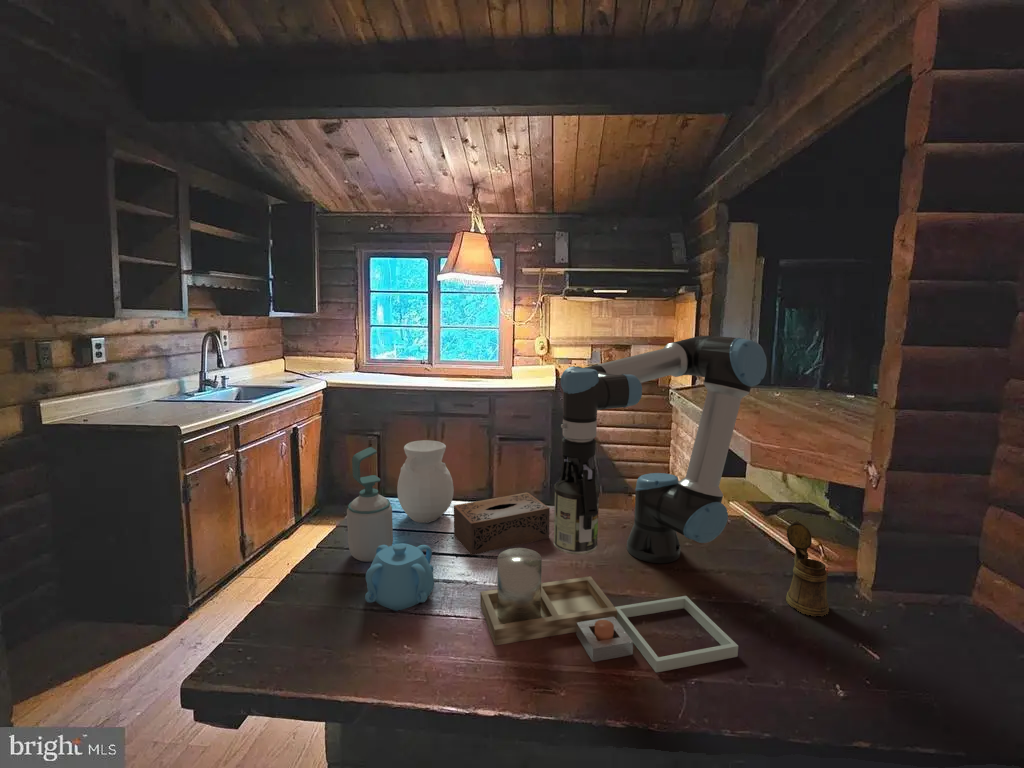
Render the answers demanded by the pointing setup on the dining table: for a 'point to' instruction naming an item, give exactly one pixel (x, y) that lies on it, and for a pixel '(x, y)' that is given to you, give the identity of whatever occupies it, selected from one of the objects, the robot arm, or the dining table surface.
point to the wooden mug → (806, 575)
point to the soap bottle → (368, 515)
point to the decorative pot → (400, 576)
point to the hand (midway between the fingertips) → (575, 530)
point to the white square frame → (681, 659)
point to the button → (604, 630)
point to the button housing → (604, 641)
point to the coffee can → (571, 520)
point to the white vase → (425, 481)
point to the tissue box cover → (500, 522)
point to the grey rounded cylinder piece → (518, 585)
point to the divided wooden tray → (551, 611)
